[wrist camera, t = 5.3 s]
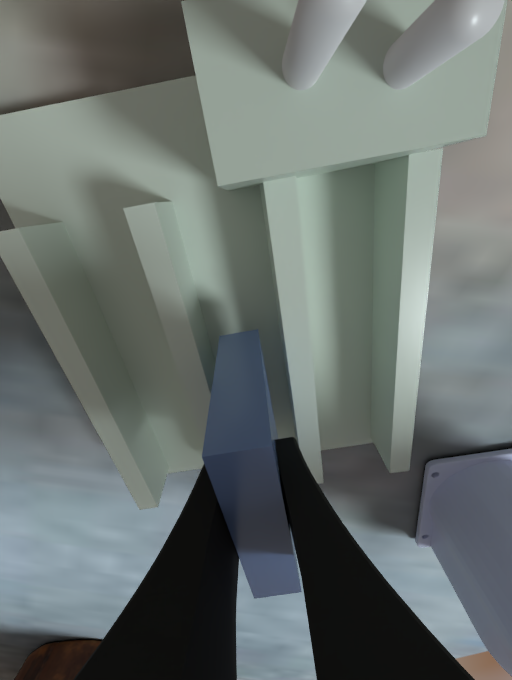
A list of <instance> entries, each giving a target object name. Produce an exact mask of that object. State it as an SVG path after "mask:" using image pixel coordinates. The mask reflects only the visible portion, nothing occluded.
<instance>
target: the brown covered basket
mask: <svg viewBox="0 0 512 680" xmlns="http://www.w3.org/2000/svg"><path fill="white" fill-rule="evenodd" d="M101 642H102V641H96V640H74V641H63V642H54V643H49V644H45V645H43V646H41V647H40V648H38V649H37V650H35V651H34V652H32V653H31V654H30V655H29V656H28V658H27V659H26V661H25V662H24V664H23V666H22V668H21V669H20V671H19V673H18V674H17V676H16V677H15V679H14V680H73V679H74V678H75V676H76V675H77V674H78V672H79V671H80V670H81V668H82V667H83V666H84V664H85V663H86V662H87V660H88V659H89V658H90V656H91V655H92V654H93V652H94V651H95V650H96V648H97V647H98V646H99V644H100V643H101Z"/></svg>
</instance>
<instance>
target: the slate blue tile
mask: <svg viewBox="0 0 512 680" xmlns="http://www.w3.org/2000/svg"><path fill="white" fill-rule="evenodd" d="M275 439H278V435H277V430H276V424H275V419H274V413H273V408H272V402H271V397H270V391H269V386H268V380H267V375H266V369H265V364H264V358H263V353H262V347H261V342H260V336H259V331H258V329H256V330H250V331H245V332H239V333H233V334H227V335H221V336H219V343H218V350H217V356H216V363H215V370H214V377H213V384H212V390H211V397H210V404H209V411H208V418H207V425H206V431H205V438H204V445H203V452H202V459H203V462H204V464H205V467H206V470H207V472H208V475H209V478H210V480H211V483H212V486H213V489H214V491H215V494H216V497H217V499H218V502H219V505H220V507H221V510H222V513H223V515H224V518H225V521H226V523H227V526H228V529H229V532H230V534H231V537H232V540H233V542H234V545H235V548H236V550H237V553H238V556H239V558H240V561H241V564H242V567H243V569H244V572H245V575H246V577H247V580H248V583H249V585H250V588H251V591H252V593H253V596H254V598H261V597H268V596H276V595H283V594H290V593H298V592H301V586H300V579H299V572H298V566H297V559H296V552H295V546H294V541H293V537H292V532H291V528H290V524H289V518H288V513H287V508H286V503H285V497H284V492H283V487H282V482H281V476H280V471H279V466H278V458H277V450H276V441H275Z"/></svg>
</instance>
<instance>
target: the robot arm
mask: <svg viewBox="0 0 512 680" xmlns="http://www.w3.org/2000/svg"><path fill="white" fill-rule="evenodd" d="M275 441H276V450H277V458H278V466H279V471H280V476H281V482H282V487H283V492H284V497H285V503H286V508H287V513H288V518H289V524H290V528H291V532H292V537H293V541H294V546H295V550H296V554H297V559H298V563H299V568H300V572H301V576H302V582H303V589H304V595H305V602H306V609H307V615H308V622H309V629H310V635H311V642H312V649H313V656H314V662H315V669H316V676H317V680H474V679H473V677H472V676H471V675H470V674H469V673H468V672H467V671H466V670H465V669H464V668H463V667H462V666H461V665H460V664H459V663H458V662H457V660H456V659H455V658H454V657H453V656H452V655H451V654H450V653H449V652H448V651H447V649H446V648H445V647H444V646H443V645H442V644H441V643H440V642H439V641H438V640H437V638H436V637H435V636H434V635H433V634H432V633H431V632H430V631H429V630H428V629H427V627H426V626H425V625H424V624H423V623H422V622H421V620H420V619H419V618H418V617H417V616H416V615H415V613H414V612H413V611H412V610H411V609H410V608H409V607H408V605H407V604H406V603H405V602H404V601H403V600H402V598H401V597H400V596H399V595H398V594H397V593H396V591H395V590H394V589H393V588H392V587H391V586H390V584H389V583H388V582H387V581H386V579H385V578H384V577H383V576H382V574H381V573H380V572H379V571H378V569H377V568H376V567H375V566H374V564H373V563H372V562H371V561H370V559H369V558H368V557H367V555H366V554H365V553H364V551H363V550H362V549H361V548H360V546H359V545H358V544H357V542H356V541H355V540H354V538H353V537H352V535H351V534H350V533H349V531H348V530H347V528H346V527H345V526H344V524H343V523H342V521H341V520H340V518H339V517H338V515H337V514H336V512H335V511H334V509H333V508H332V506H331V505H330V503H329V502H328V500H327V499H326V497H325V495H324V494H323V492H322V490H321V489H320V487H319V485H318V484H317V482H316V480H315V479H314V477H313V475H312V473H311V471H310V469H309V467H308V466H307V464H306V462H305V460H304V458H303V455H302V453H301V451H300V448H299V446H298V443H297V440H296V439H295V438H294V437H288V438H282V439H275ZM415 541H416V543H417V545H418V546H419V547H430V546H431V547H432V549H433V551H434V553H435V555H436V556H437V558H438V560H439V562H440V564H441V566H442V568H443V570H444V571H445V573H446V575H447V577H448V579H449V581H450V583H451V584H452V586H453V588H454V590H455V592H456V594H457V596H458V597H459V599H460V601H461V603H462V605H463V607H464V609H465V611H466V612H467V614H468V616H469V618H470V620H471V622H472V624H473V625H474V627H475V629H476V631H477V633H478V635H479V637H480V638H481V640H482V642H483V643H484V645H485V646H486V648H487V649H488V651H489V652H490V654H491V655H492V656H493V657H494V658H495V660H496V661H497V662H498V663H499V664H500V665H501V667H502V668H503V669H504V670H505V671H506V672H508V673H509V674H510V675H511V676H512V448H511V449H505V450H498V451H491V452H484V453H477V454H470V455H464V456H457V457H450V458H443V459H436V460H431V461H429V462H428V463H427V464H426V466H425V474H424V481H423V488H422V495H421V502H420V510H419V517H418V524H417V531H416V538H415ZM238 565H239V556H238V553H237V550H236V548H235V545H234V542H233V540H232V537H231V534H230V532H229V529H228V526H227V523H226V521H225V518H224V515H223V513H222V510H221V507H220V505H219V502H218V499H217V497H216V494H215V491H214V489H213V486H212V483H211V480H210V478H209V475H208V472H207V470H206V467H205V464H204V465H203V467H202V470H201V472H200V474H199V477H198V479H197V481H196V483H195V485H194V488H193V490H192V492H191V494H190V496H189V498H188V500H187V502H186V504H185V506H184V508H183V510H182V512H181V514H180V516H179V518H178V520H177V522H176V524H175V526H174V528H173V529H172V531H171V533H170V535H169V537H168V539H167V540H166V542H165V544H164V546H163V548H162V549H161V551H160V553H159V555H158V556H157V558H156V560H155V561H154V563H153V565H152V566H151V568H150V570H149V571H148V573H147V574H146V576H145V578H144V579H143V581H142V582H141V584H140V586H139V587H138V589H137V590H136V592H135V593H134V595H133V596H132V598H131V599H130V601H129V602H128V604H127V605H126V607H125V608H124V610H123V611H122V613H121V614H120V616H119V617H118V619H117V620H116V622H115V623H114V625H113V626H112V627H111V629H110V630H109V632H108V633H107V635H106V636H105V637H104V639H103V640H102V642H101V643H100V644H99V646H98V647H97V648H96V650H95V651H94V652H93V654H92V655H91V656H90V658H89V659H88V660H87V662H86V663H85V664H84V666H83V667H82V668H81V670H80V671H79V672H78V674H77V675H76V676H75V678H74V679H73V680H237V672H236V598H237V581H238Z"/></svg>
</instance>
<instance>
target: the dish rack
mask: <svg viewBox="0 0 512 680" xmlns="http://www.w3.org/2000/svg"><path fill="white" fill-rule="evenodd" d="M181 4H182V9H183V14H184V19H185V24H186V29H187V34H188V39H189V44H190V49H191V54H192V59H193V64H194V69H195V74H196V75H194V76H189V77H184V78H179V79H175V80H170V81H165V82H160V83H155V84H150V85H145V86H140V87H135V88H130V89H126V90H121V91H116V92H111V93H106V94H101V95H96V96H91V97H86V98H81V99H77V100H72V101H67V102H62V103H57V104H52V105H47V106H42V107H37V108H32V109H27V110H23V111H18V112H13V113H8V114H3V115H0V199H1V201H2V203H3V205H4V207H5V208H6V210H7V212H8V214H9V216H10V218H11V220H12V222H13V224H14V226H15V229H10V230H4V231H0V256H1V258H2V260H3V262H4V264H5V266H6V267H7V269H8V271H9V273H10V275H11V276H12V278H13V280H14V282H15V284H16V286H17V287H18V289H19V291H20V293H21V295H22V297H23V298H24V300H25V302H26V304H27V306H28V307H29V309H30V311H31V313H32V315H33V317H34V318H35V320H36V322H37V324H38V326H39V327H40V329H41V331H42V333H43V335H44V337H45V338H46V340H47V342H48V344H49V346H50V347H51V349H52V351H53V353H54V355H55V357H56V358H57V360H58V362H59V364H60V366H61V367H62V369H63V371H64V373H65V375H66V377H67V378H68V380H69V382H70V384H71V386H72V387H73V389H74V391H75V393H76V395H77V397H78V398H79V400H80V402H81V404H82V406H83V407H84V409H85V411H86V413H87V415H88V417H89V418H90V420H91V422H92V424H93V426H94V427H95V429H96V431H97V433H98V435H99V437H100V438H101V440H102V442H103V444H104V446H105V447H106V449H107V451H108V453H109V455H110V457H111V458H112V460H113V462H114V464H115V466H116V467H117V469H118V471H119V473H120V475H121V477H122V478H123V480H124V482H125V484H126V486H127V488H128V489H129V491H130V493H131V495H132V497H133V498H134V500H135V502H136V504H137V506H138V508H139V509H140V510H141V509H148V508H155V507H158V506H159V502H160V498H161V495H162V491H163V488H164V484H165V480H166V477H167V474H168V473H175V472H182V471H188V470H195V469H202V467H203V465H204V462H203V459H202V452H203V445H204V438H205V431H206V425H207V418H208V411H209V404H210V397H211V390H212V384H213V377H214V370H215V363H216V356H217V350H218V343H219V336H221V335H227V334H233V333H239V332H245V331H250V330H256V329H258V331H259V336H260V342H261V347H262V353H263V358H264V364H265V369H266V375H267V380H268V386H269V391H270V397H271V402H272V408H273V413H274V419H275V424H276V430H277V435H278V439H282V438H288V437H294V438H295V439H296V440H297V443H298V446H299V448H300V451H301V453H302V455H303V458H304V460H305V462H306V464H307V466H308V467H309V469H310V471H311V473H312V475H313V477H314V479H315V480H316V482H317V484H321V483H324V480H323V469H322V458H321V451H322V450H329V449H336V448H342V447H349V446H356V445H362V444H369V443H374V445H375V446H376V448H377V450H378V452H379V454H380V456H381V458H382V460H383V462H384V463H385V465H386V467H387V469H388V471H389V473H396V472H403V471H409V470H410V461H411V451H412V441H413V432H414V422H415V413H416V403H417V394H418V384H419V374H420V365H421V355H422V346H423V336H424V326H425V317H426V307H427V298H428V288H429V279H430V269H431V259H432V250H433V240H434V231H435V221H436V211H437V202H438V192H439V183H440V173H441V164H442V154H443V148H442V149H437V148H441V147H444V146H448V145H452V144H456V143H460V142H464V141H468V140H472V139H476V138H480V137H483V136H486V133H487V127H488V120H489V114H490V108H491V101H492V95H493V89H494V82H495V76H496V70H497V63H498V57H499V51H500V44H501V38H502V32H503V25H504V19H505V13H506V6H507V0H186V1H181ZM433 149H436V150H433ZM429 150H431V151H429Z"/></svg>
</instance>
